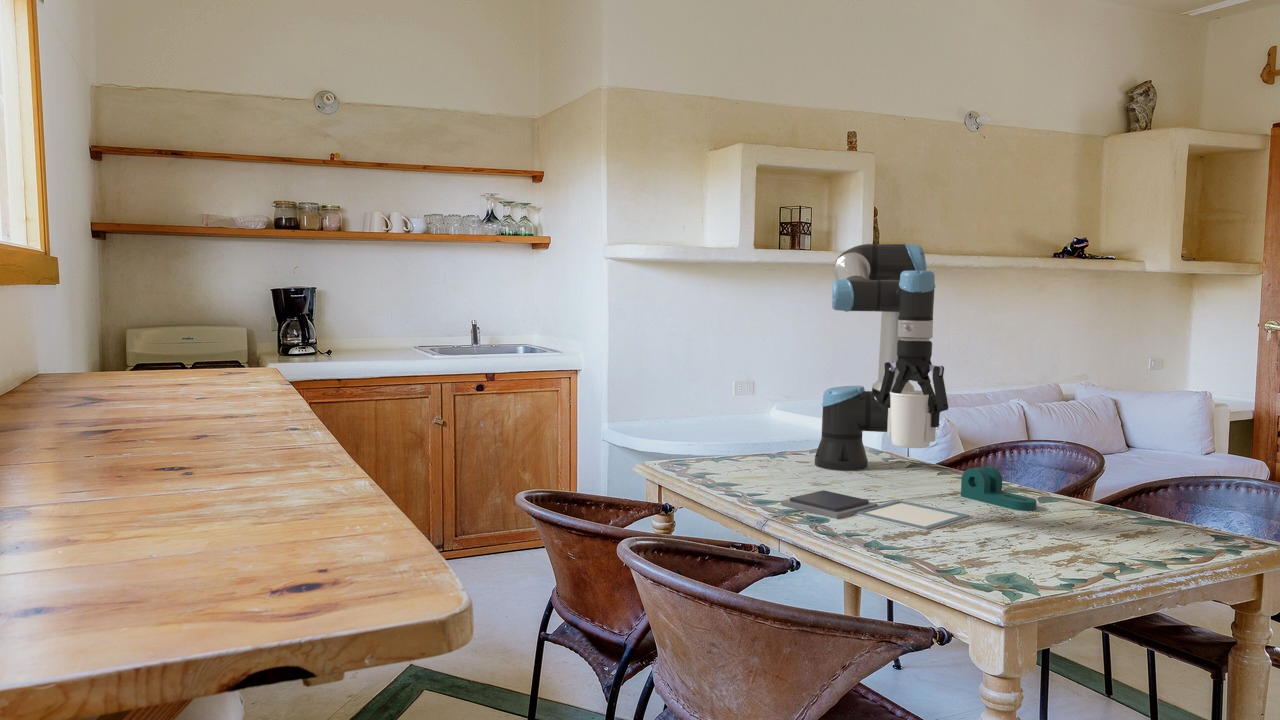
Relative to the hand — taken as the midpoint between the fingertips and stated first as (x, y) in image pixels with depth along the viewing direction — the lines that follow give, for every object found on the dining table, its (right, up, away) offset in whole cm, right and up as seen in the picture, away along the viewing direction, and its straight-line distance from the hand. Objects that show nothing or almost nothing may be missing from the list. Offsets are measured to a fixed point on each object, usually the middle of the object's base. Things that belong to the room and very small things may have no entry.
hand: (910, 438), depth 201 cm
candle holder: (0, -2, 0) cm, 2 cm away
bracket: (+27, -17, +16) cm, 36 cm away
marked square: (+1, -18, +1) cm, 18 cm away
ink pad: (-17, -17, +8) cm, 25 cm away
